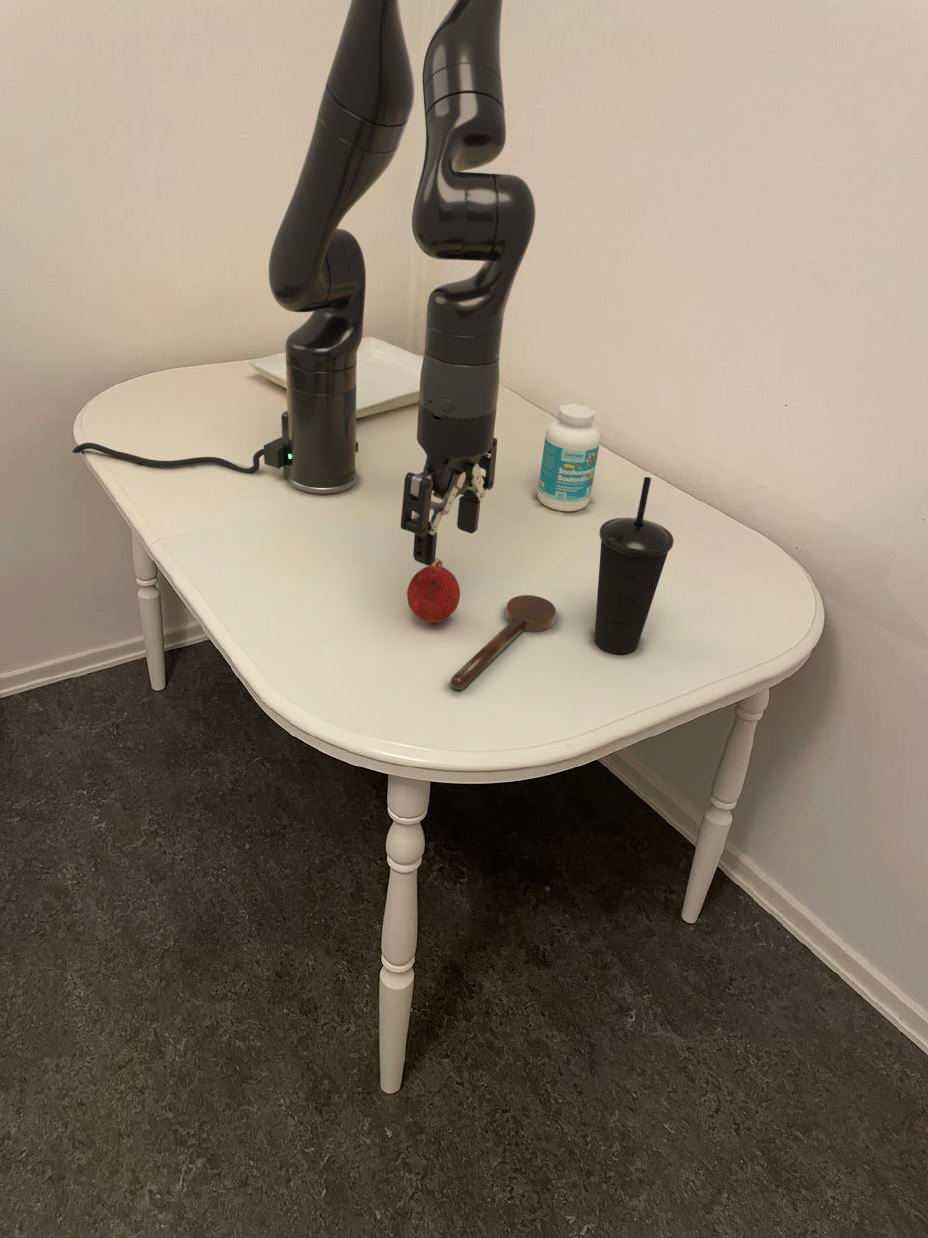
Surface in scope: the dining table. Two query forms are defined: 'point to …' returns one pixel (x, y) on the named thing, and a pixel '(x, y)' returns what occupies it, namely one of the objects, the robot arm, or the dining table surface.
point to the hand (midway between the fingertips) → (446, 545)
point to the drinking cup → (628, 577)
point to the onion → (433, 593)
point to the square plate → (367, 376)
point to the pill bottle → (569, 459)
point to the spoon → (509, 633)
